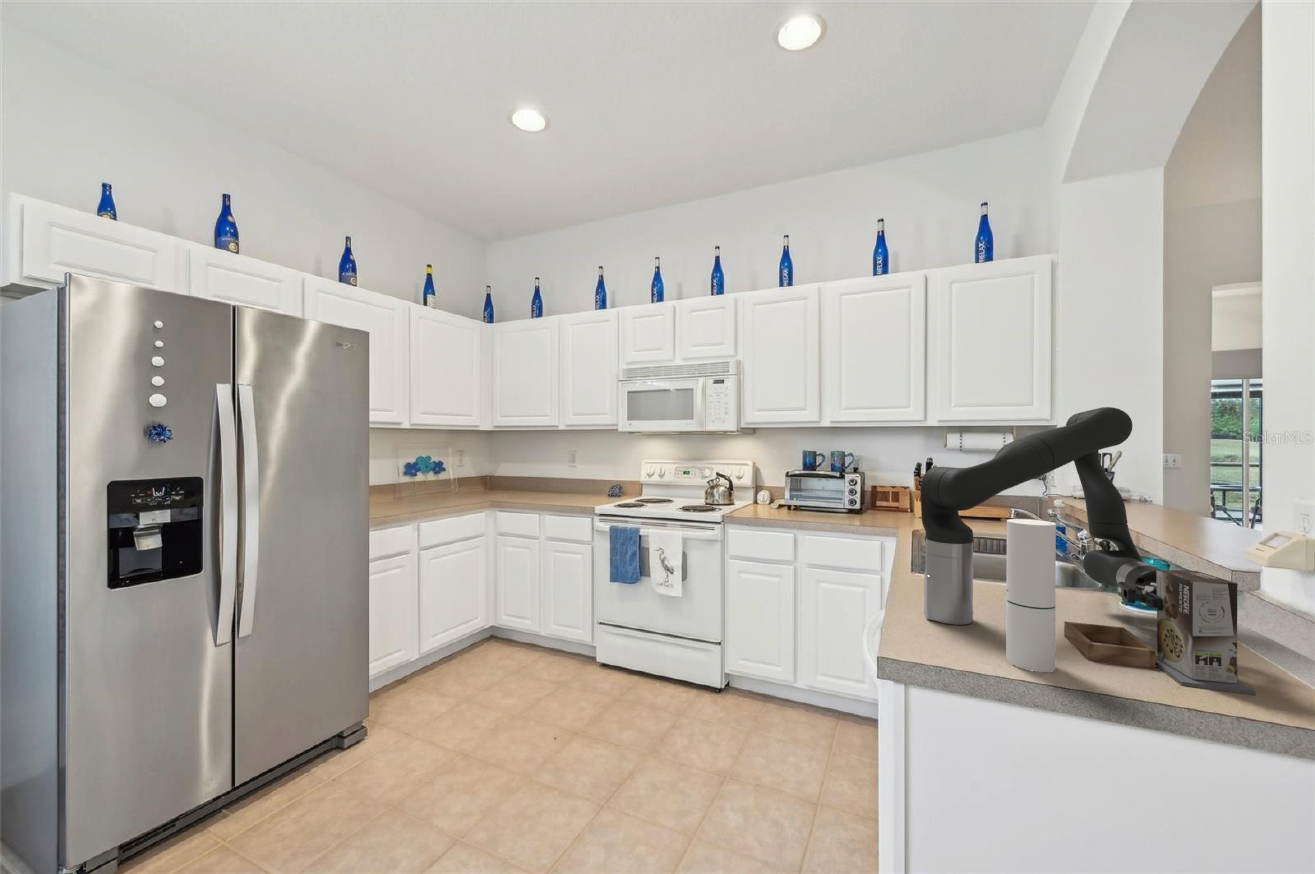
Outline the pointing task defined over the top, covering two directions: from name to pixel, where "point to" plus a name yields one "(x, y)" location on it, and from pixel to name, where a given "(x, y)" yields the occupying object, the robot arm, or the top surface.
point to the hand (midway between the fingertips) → (1192, 607)
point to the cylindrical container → (1031, 594)
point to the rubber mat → (1188, 681)
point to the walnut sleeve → (1126, 654)
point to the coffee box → (1198, 625)
